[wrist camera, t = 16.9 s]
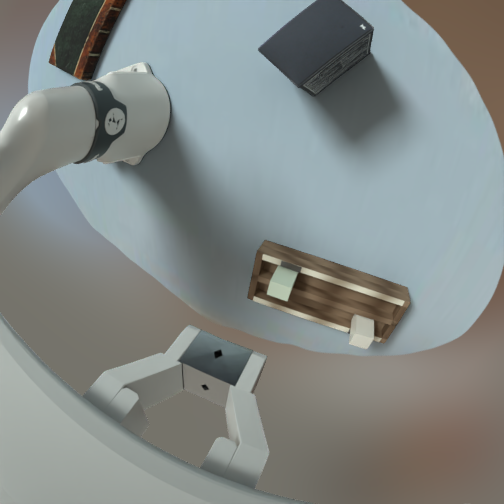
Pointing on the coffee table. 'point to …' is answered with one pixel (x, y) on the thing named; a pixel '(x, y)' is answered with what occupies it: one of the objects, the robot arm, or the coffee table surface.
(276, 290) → the sage tab
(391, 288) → the wooden shelf rack
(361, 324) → the offwhite block
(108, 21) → the book
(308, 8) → the small box
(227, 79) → the coffee table surface
